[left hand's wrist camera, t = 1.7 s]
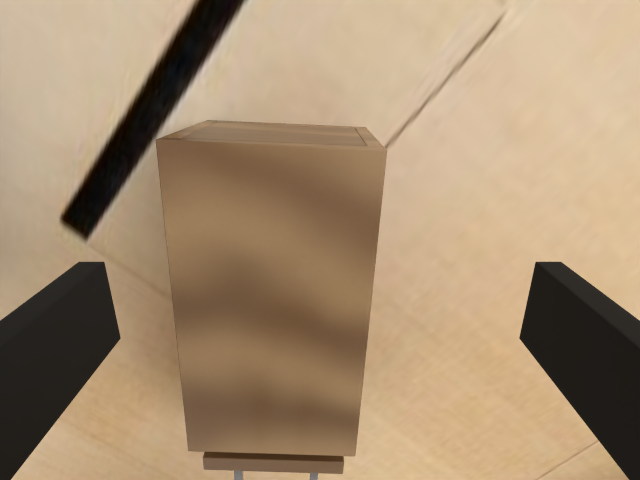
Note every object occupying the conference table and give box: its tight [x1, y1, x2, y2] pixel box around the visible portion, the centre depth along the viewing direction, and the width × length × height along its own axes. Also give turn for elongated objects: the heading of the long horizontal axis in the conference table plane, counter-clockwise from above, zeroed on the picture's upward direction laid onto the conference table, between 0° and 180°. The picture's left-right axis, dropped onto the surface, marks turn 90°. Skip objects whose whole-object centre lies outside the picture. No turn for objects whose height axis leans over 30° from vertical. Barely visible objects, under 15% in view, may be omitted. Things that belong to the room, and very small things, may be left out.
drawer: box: [203, 452, 344, 480], centre depth 30 cm, size 26×10×8 cm, turn 178°
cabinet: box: [156, 120, 387, 456], centre depth 28 cm, size 21×11×10 cm, turn 178°
